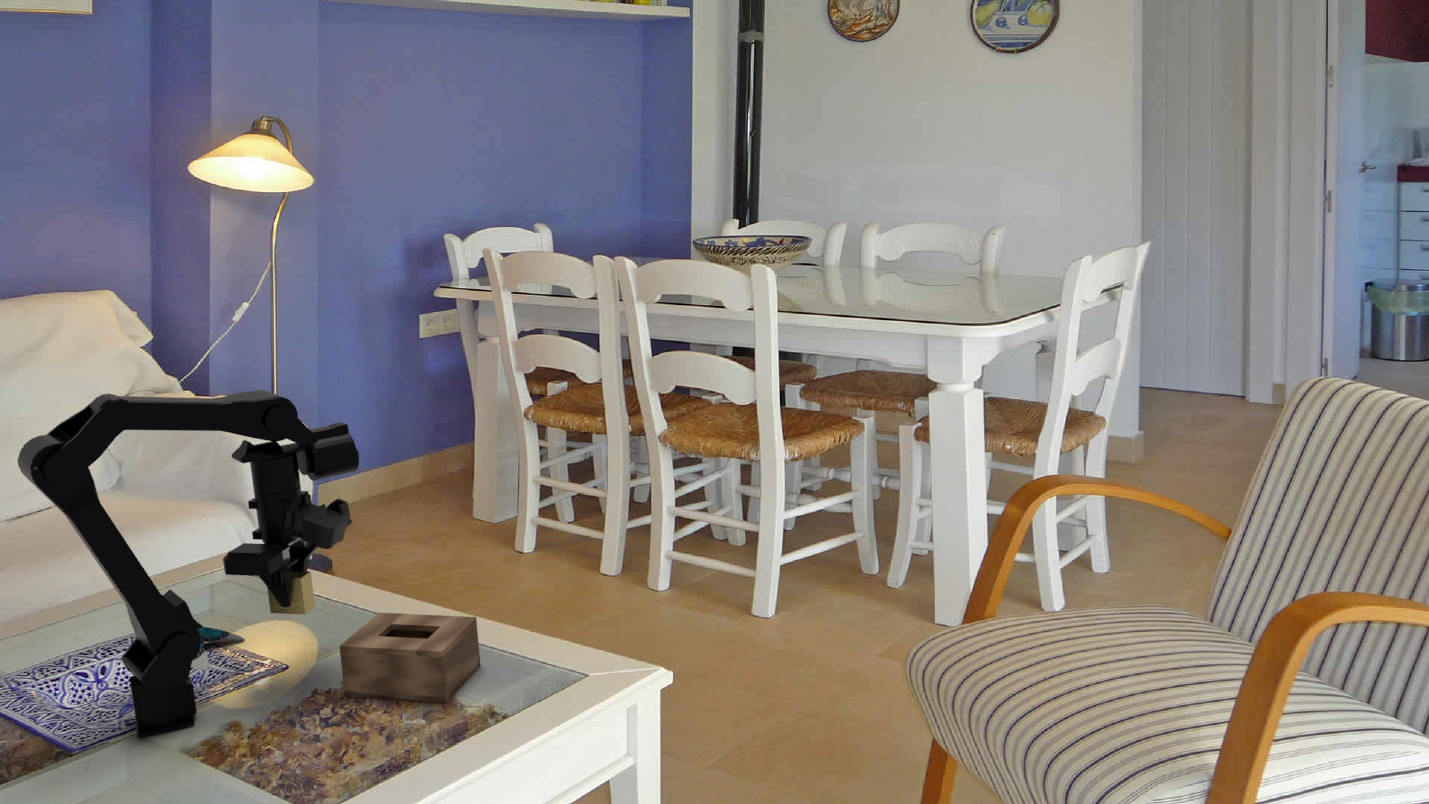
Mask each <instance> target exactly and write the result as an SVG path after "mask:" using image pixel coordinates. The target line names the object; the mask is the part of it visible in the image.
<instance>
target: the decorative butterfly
mask: <svg viewBox="0 0 1429 804" xmlns="http://www.w3.org/2000/svg"><path fill="white" fill-rule="evenodd" d="M211 614H213V612H212V613H210V615H211ZM206 616H208V614H206V615H204V616H201V617H199V619H200V618H204V617H206ZM197 619H198V617H197V618H195V620H197ZM197 630H198V631H199V633H200V635H201V637H202V644H201V647H200V650H199V652H198V654H197V655H196V657H195V658H194V659H193V660H192V664H191V668H190V669H198V670H202V671H204V670H205V671H207V670H208V668H209V664H210V663H209V657H208V655H207V650H206V649H205V646H204V643H205V642H206V643H227V642H243V641H244V642H245V641H246V639H245V638H244V637H242V636H240V635H238V634H235V633H232V632H229V631H226V630H223V629H219V628H218V629H217V628H213V627H208V626H203V627H202V628H199V629H197Z"/></svg>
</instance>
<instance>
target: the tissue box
mask: <svg viewBox="0 0 1429 804" xmlns="http://www.w3.org/2000/svg"><path fill="white" fill-rule="evenodd" d="M338 647H339V655H340V664H341V673H342V681H343V690H344V697H345V698H356V699H357V698H358V699H359V698H360V699H373V700H375V699H376V700H391V701H404V702H406V701H407V702H408V701H409V702H423V703H436V704H437V703H439V704H447V703H449V701H451V699H452V698H453V697H454V696H455V695H456V694H457V693H458V691H460V689H461V688H462V687H463V686H464V685H465V684H466V683H467V681H468V680H469V679H470V678H471V677H472V676H473V675H474V674H475V673H476V672H477V671H478V670H479V668H480V667H481V666H482V665H481V656H480V645H479V634H478V622H477V616H464V615H463V616H460V615H459V616H457V615H438V614H417V613H416V614H415V613H399V612H395V613H394V612H378V613H377V614H376V615H375V616H374V617H372V618H371V619H370V620H368V621H367V622H366V623H365V624H363V626H361V627H360V628H359V629H358V630H357V631H355V632H354V633H353V634H352V635H351V636H350V637H348V638H347V639H346V640H344V641H343V642H342V643H341V644H340V645H339V646H338Z"/></svg>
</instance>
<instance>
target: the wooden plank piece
mask: <svg viewBox="0 0 1429 804" xmlns="http://www.w3.org/2000/svg"><path fill="white" fill-rule="evenodd" d="M312 578H313V577H312V572H311V571H309V570H307V571H290V580H291V604H290V606H289V607H282V606H281V605H280V604H279V602H278V601H277V600H276V598H275V597H274V595H273V594H272V593H271V591H270V590H269V589H268V587H267V586H266V587H267V595H268V596H267V597H268V604H269V611H270V612H269V613H270V614H280V615H281V614H285V615H287V614H288V615H301V616H302V615H307V614H309V612H311V611H312V610H314V609H315V608H316V604H315V596H314V588H313V579H312Z"/></svg>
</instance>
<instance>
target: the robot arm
mask: <svg viewBox="0 0 1429 804" xmlns="http://www.w3.org/2000/svg"><path fill="white" fill-rule="evenodd" d="M298 415H299V414H298V409H297V407H296V405H294V403H293V402H292V401H291V400H290V399H289V398H287V397H284V396H281V395H279V394H276V393H273V392H271V391H268V390H267V391H266V390H264V389H262V390H261V389H259V390H251V391H244V392H237V393H233V394H229V395H225V396H221V397H214V398H211V397H210V398H205V397H201V398H200V397H170V396H169V397H168V396H167V397H165V396H162V397H161V396H131V395H130V396H129V395H128V396H126V395H118V394H117V395H116V394H114V393H113V394H112V393H104V394H103V393H102V394H100V395H98V396H96V397H95V398H94V399H93V400H92V401H91V402H90V403H88V404H87V406H86V405H85V407H84V408H83V409H81V410H80V411H78V412H76V413H75V414H72V415H71V416H70V417H68V418H67V419H64V420H62V422H60V423H58V424H57V425H56V426H54V428H52V429H51V430H49V431H48V433H46V434H42V435H37V436H35V437H32V438H31V439H29V440H28V441H27V442H26V443H24V444H23V446H22V448H21V449H20V450H19V454H18V457H17V466H18V467H19V470H20V472H21V474H22V475H23V476H25V478H26V479H27V480H28V481H29V482H30V483H31V484H32V485H33V486H34V487H35V488H36V489H38V491H40V492H41V493H42V495H44V496H45V497H46V498H47V499H48V501H50V502H51V503H52V504H53V505H54V506H55V507H56V508H57V509H58V510H59V511H60V512H61V513H62V514H63V515H64V516H65V517H66V519H67V520H68V521H69V523H70V525H71V527H73V529H74V531H75V532H76V534H77V535H78V536H79V538H80V539H81V541H82V542H83V544H84V545H85V547H86V549H87V550H88V551H89V552H90V554H91V556H93V559H94V561H95V562H96V563H97V564H98V566H99V567H100V568H101V570H102V572H103V573H104V575H105V576H106V578H108V580H109V582H110V583H111V585H112V586H113V588H114V589H115V591H116V592H117V593H118V596H120V598H121V599H122V601H123V602H124V604H125V606H126V611H127V614H128V618H129V621H130V622H129V623H130V624H131V627H132V629H133V631H134V634H135V636H136V637H135V639H134V640H133V641H132V643H131V644H130V645H129V647H128V648H127V649H126V651H124V653H123V654H122V656H121V658H120V660H121V662H122V664H123V665H124V667H125V668H126V670H127V671H128V672H129V673H131V674H132V675H131V676H129V685H130V690H131V692H130V693H131V696H132V697H131V698H132V703H133V709H134V721H135V730H136V737H137V738H145V737H149V736H153V735H157V734H161V733H166V732H170V731H174V730H179V729H182V728H187V727H191V726H194V725H195V719H194V716H195V715H196V714H197V713H198V712H197V711H198V710H197V704H196V699H195V690H194V685H193V680H192V677H191V676H190V673H191V669H192V668H191V664H192V660H193V659H194V658H195V657H196V655H197V654H198V652H199V650H200V647H201V644H203V643H202V637H201V635H200V633H199V631H198V630H197V629H199V628H202V627H204V625H202V624H201V623H200V621H197V619H196V618H194V617H193V614H192V613H191V610H190V607H189V605H188V604H187V602H186V601H185V599H184V598H182V597H180V596H179V595H178V594H177V593H176V592H174V591H173V590H172V589H168V590H167V591H166V592H165V593H163V594H162V593H161V592H160V591H159V589H158V587H156V585H155V583H154V582H153V580H152V579H151V577H150V575H149V574H148V573H147V571H146V569H145V568H144V566H143V565H142V563H141V562H140V561H139V559H138V558H137V556H136V555H135V553H134V552H133V550H132V549H131V547H130V545H129V544H128V543H127V541H126V540H125V538H124V537H123V535H122V534H121V532H120V530H119V529H118V528H117V526H116V525H115V523H114V521H113V520H112V518H111V517H110V515H109V514H108V512H107V511H106V510H105V508H104V506H103V505H102V504H101V500H100V498H99V495H98V491H97V487H96V483H95V480H94V478H93V476H92V475H93V474H92V473H91V470H90V468H89V467H90V466H92V464H94V463H95V462H96V461H97V460H98V459H99V458H101V456H103V454H104V453H105V452H106V450H107V449H108V448H109V447H110V445H111V444H112V442H113V441H115V439H116V438H117V437H118V436H119V435H120V434H122V433H123V432H124V431H183V432H184V431H185V432H186V431H191V432H192V431H194V432H195V431H196V432H197V431H198V432H199V431H200V432H204V431H205V432H224V433H229V434H234V435H238V436H243V437H246V438H251V439H257V440H263V441H266V442H261V443H256V444H254V443H252V442H250V441H248V440H247V439H246V440H245V439H244V440H242V441H241V443H240V445H239V447H237V449H235V450H234V452H232V453H231V458H232V459H233V460H235V461H237V462H239V463H241V464H247V463H249V465H250V470H251V471H250V472H251V480H252V488H253V495H254V497H253V498H252V499H250V500H247V504H248V509H249V510H255V511H256V517H257V525H258V528H256V529H255V530H253V531H251V535H252V540H256V541H257V540H261V541H262V543H251V542H250V543H246V542H242V543H241V544H240V545H238V546H236V547H235V548H233V549H232V550H230V551H228V552H227V553H226V555H225V556H224V557H223V558H222V563H223V570H224V574H225V575H226V576H247V577H248V576H249V577H259V578H260V580H261V581H262V582H263V584H264V585H265V586H266V587H268V589H269V590H270V591H271V593H272V594H273V595H274V597H275V598H276V600H277V601H278V602H279V604H280V605H281V606H282V607H289V606H290V604H291V580H290V571H308V569H309V564H310V560H311V557H312V556H313V554H314V553H315V552H316V551H317V550H318V549H319V548H320V549H322V550H323V549H324V550H330V549H332V548H333V547H334V546H335V545H337V544H338V543H340V542H343V540H344V538H345V534H346V529H347V527H349V526H350V525H352V524H353V521H352V519H351V512H350V509H349V504H348V501H347V500H344V499H341V498H336V499H334V500H333V501H331V502H330V503H329V504H328V505H326V504H324V503H323V504H321V505H317V504H314V503H313V502H312V496H311V494H310V493H309V491H308V490H302V487H301V486H302V485H301V478H300V475H303V476H307V477H308V478H309V480H310V481H312V482H314V481H320V480H325V479H328V478H334V477H337V476H342V475H346V474H352V473H355V472H357V471H358V469H359V465H360V454H359V453H360V452H359V450H358V448H357V446H356V443H355V441H354V439H353V436H352V435H351V433H350V432H349V431H350V430H349V425H348V424H346V423H343V422H335V423H331V424H329V425H327V426H322V427H317V428H312V429H310V428H309V427H307V425H305V423H303V421H302V420H300V418H299V416H298ZM284 440H288V441H291V443H289V444H287V443H286V444H281V445H280V443H279V442H281V441H282V442H283V441H284ZM268 589H267V590H268Z"/></svg>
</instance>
